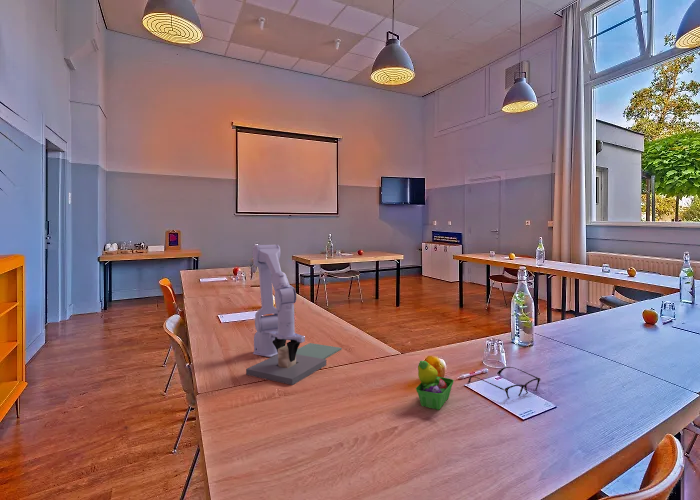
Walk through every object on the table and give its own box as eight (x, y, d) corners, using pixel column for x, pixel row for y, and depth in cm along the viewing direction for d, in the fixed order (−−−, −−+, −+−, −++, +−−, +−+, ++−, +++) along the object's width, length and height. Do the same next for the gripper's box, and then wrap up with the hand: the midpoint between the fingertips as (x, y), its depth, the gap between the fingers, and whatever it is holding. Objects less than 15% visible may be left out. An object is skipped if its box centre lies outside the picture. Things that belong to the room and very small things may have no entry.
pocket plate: (246, 374, 128) (246, 368, 128) (283, 356, 145) (283, 351, 145) (292, 385, 118) (292, 378, 118) (326, 364, 136) (326, 359, 136)
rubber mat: (286, 355, 147) (286, 353, 147) (310, 344, 161) (310, 342, 161) (320, 361, 139) (320, 359, 139) (341, 349, 153) (341, 347, 153)
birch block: (278, 368, 131) (277, 348, 130) (287, 363, 135) (286, 344, 135) (287, 370, 129) (286, 350, 128) (296, 365, 133) (295, 346, 133)
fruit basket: (442, 413, 98) (441, 371, 97) (410, 405, 103) (410, 365, 102) (454, 396, 108) (454, 358, 107) (425, 390, 112) (425, 353, 112)
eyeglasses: (505, 402, 104) (505, 388, 104) (464, 383, 118) (464, 370, 118) (543, 390, 112) (543, 377, 111) (500, 373, 126) (500, 361, 125)
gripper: (262, 322, 131) (263, 360, 132) (295, 326, 124) (296, 366, 125) (275, 318, 137) (276, 354, 138) (307, 322, 130) (308, 360, 131)
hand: (287, 359), depth 132 cm, fingers closed on birch block, 4 cm apart
